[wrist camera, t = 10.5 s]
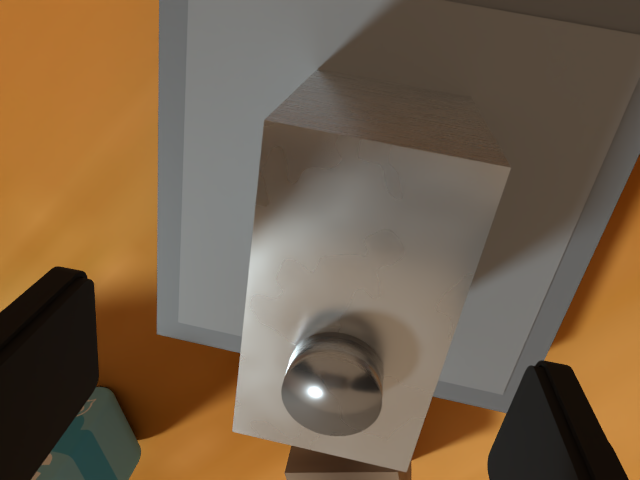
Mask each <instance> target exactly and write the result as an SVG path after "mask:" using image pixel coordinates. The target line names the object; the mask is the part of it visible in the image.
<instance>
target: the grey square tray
mask: <svg viewBox="0 0 640 480" xmlns="http://www.w3.org/2000/svg"><path fill="white" fill-rule="evenodd" d="M317 69H320V70H326V71H331V72H337V73H342V74H347V75H353V76H358V77H364V78H369V79H374V80H380V81H385V82H391V83H396V84H401V85H407V86H412V87H418V88H423V89H428V90H434V91H439V92H445V93H450V94H455V95H461V96H466V97H472V99H473V101H474V103H475V104H476V106H477V108H478V110H479V111H480V113H481V115H482V117H483V119H484V120H485V122H486V124H487V126H488V127H489V129H490V131H491V133H492V135H493V136H494V138H495V140H496V142H497V143H498V145H499V147H500V149H501V151H502V152H503V154H504V156H505V158H506V159H507V161H508V163H509V165H510V167H511V170H510V172H509V175H508V178H507V181H506V184H505V187H504V190H503V193H502V196H501V199H500V202H499V204H498V207H497V210H496V213H495V216H494V219H493V222H492V225H491V228H490V231H489V234H488V237H487V239H486V242H485V245H484V248H483V251H482V254H481V257H480V260H479V263H478V266H477V269H476V271H475V274H474V277H473V280H472V283H471V286H470V289H469V292H468V295H467V298H466V301H465V304H464V306H463V309H462V312H461V315H460V318H459V321H458V324H457V327H456V330H455V333H454V336H453V338H452V341H451V344H450V347H449V350H448V353H447V356H446V359H445V362H444V365H443V368H442V371H441V373H440V376H439V379H438V382H437V385H436V388H435V391H434V394H433V397H437V398H442V399H446V400H451V401H455V402H459V403H464V404H468V405H473V406H477V407H482V408H486V409H491V410H495V411H499V412H504V413H507V412H508V409H509V407H510V405H511V402H512V400H513V398H514V396H515V393H516V391H517V389H518V386H519V384H520V382H521V380H522V377H523V375H524V373H525V370H526V369H527V367H528V366H530V365H532V366H535V365H536V363H537V362H539V361H541V360H543V361H544V359H545V357H546V355H547V353H548V351H549V349H550V346H551V344H552V342H553V340H554V338H555V336H556V334H557V331H558V329H559V327H560V325H561V323H562V321H563V318H564V316H565V314H566V312H567V310H568V308H569V305H570V303H571V301H572V299H573V297H574V295H575V292H576V290H577V288H578V286H579V284H580V282H581V279H582V277H583V275H584V273H585V271H586V269H587V266H588V264H589V262H590V260H591V258H592V256H593V254H594V251H595V249H596V247H597V245H598V243H599V241H600V238H601V236H602V234H603V232H604V230H605V228H606V225H607V223H608V221H609V219H610V217H611V215H612V212H613V210H614V208H615V206H616V204H617V202H618V199H619V197H620V195H621V193H622V191H623V189H624V186H625V184H626V182H627V180H628V178H629V176H630V174H631V171H632V169H633V167H634V165H635V163H636V161H637V158H638V156H639V154H640V0H159V108H158V244H157V334H158V335H162V336H167V337H171V338H176V339H180V340H185V341H189V342H194V343H198V344H202V345H207V346H211V347H216V348H220V349H225V350H229V351H233V352H238V353H240V352H241V342H242V332H243V322H244V313H245V303H246V293H247V283H248V273H249V264H250V254H251V244H252V234H253V224H254V215H255V205H256V195H257V185H258V176H259V166H260V156H261V146H262V136H263V127H264V120H265V119H266V118H267V117H268V116H269V115H270V114H271V113H272V112H273V111H274V110H275V109H276V108H277V107H278V106H279V105H280V104H281V103H282V102H283V101H285V100H286V99H287V98H288V97H289V96H290V95H291V94H292V93H293V92H294V91H295V90H296V89H297V88H298V87H299V86H300V85H301V84H302V83H303V82H304V81H305V80H306V79H307V78H309V77H310V76H311V75H312V74H313V73H314V72H315V71H316V70H317Z"/></svg>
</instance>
